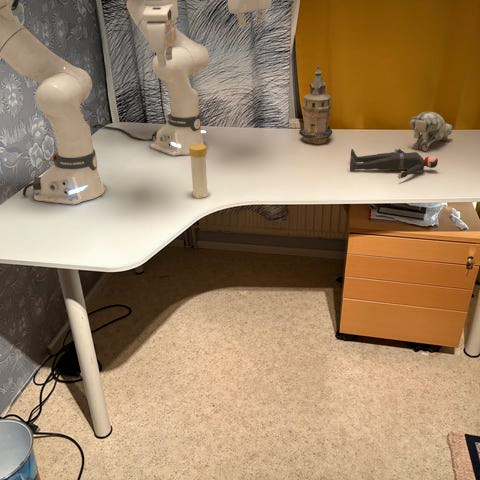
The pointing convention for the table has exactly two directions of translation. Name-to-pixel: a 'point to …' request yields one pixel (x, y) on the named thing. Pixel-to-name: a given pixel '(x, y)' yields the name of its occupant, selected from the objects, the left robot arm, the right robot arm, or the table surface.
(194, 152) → the lid
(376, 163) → the toy
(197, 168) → the jar
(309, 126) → the miniature building
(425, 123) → the figurine
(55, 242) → the table surface
